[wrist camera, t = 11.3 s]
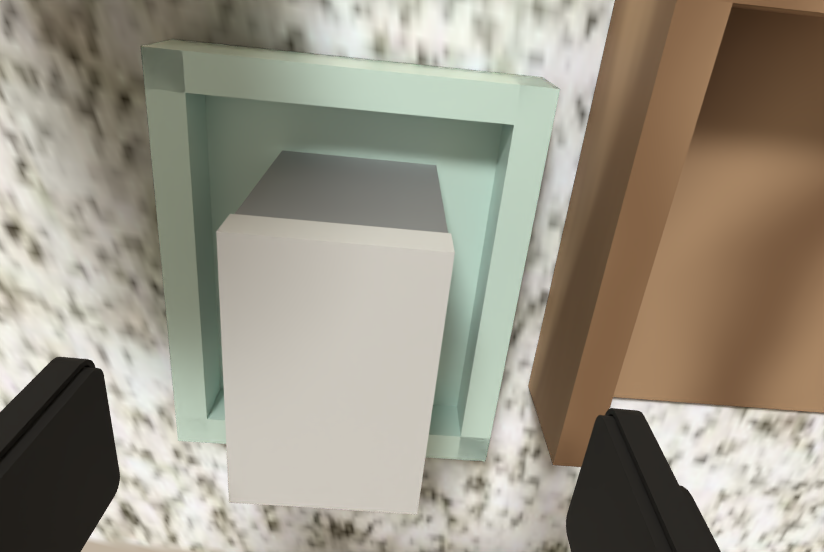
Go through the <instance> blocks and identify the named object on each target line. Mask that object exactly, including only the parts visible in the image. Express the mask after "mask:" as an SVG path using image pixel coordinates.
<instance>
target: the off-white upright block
mask: <svg viewBox="0 0 824 552" xmlns="http://www.w3.org/2000/svg"><path fill="white" fill-rule="evenodd" d="M216 237H217V258H218V279H219V300H220V321H221V342H222V364H223V385H224V406H225V427H226V448H227V469H228V490H229V503H245V504H261V505H276V506H292V507H308V508H324V509H340V510H355V511H371V512H387V513H403V514H417V512H418V506H419V499H420V492H421V485H422V478H423V471H424V464H425V457H426V450H427V443H428V436H429V429H430V422H431V415H432V408H433V401H434V394H435V387H436V380H437V373H438V366H439V359H440V352H441V346H442V339H443V332H444V325H445V318H446V311H447V304H448V297H449V290H450V283H451V276H452V269H453V262H454V255H455V251H454V245H453V240H452V235H451V233H448V229H447V224H446V218H445V213H444V207H443V201H442V196H441V190H440V184H439V179H438V173H437V168H436V165H429V164H419V163H409V162H398V161H388V160H377V159H367V158H356V157H346V156H335V155H325V154H314V153H304V152H293V151H283V150H282V151H281V153H280V154H279V155H278V157H277V158H276V159H275V161H274V162H273V163H272V165H271V166H270V167H269V169H268V170H267V171H266V173H265V174H264V175H263V176H262V178H261V179H260V180H259V182H258V183H257V184H256V186H255V187H254V188H253V190H252V191H251V192H250V194H249V195H248V196H247V198H246V199H245V200H244V202H243V203H242V204H241V206H240V207H239V208H238V210H237V211H236V212H235V214H229V216H228V217H227V218H226V220H225V221H224V222H223V224H222V225H221V226H220V227H219V229H218V230H217V231H216Z"/></svg>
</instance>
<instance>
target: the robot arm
mask: <svg viewBox="0 0 824 552" xmlns="http://www.w3.org/2000/svg"><path fill="white" fill-rule="evenodd" d="M119 481H120V473H119V466H118V460H117V454H116V448H115V442H114V436H113V429H112V423H111V417H110V411H109V405H108V399H107V392H106V386H105V380H104V375H103V371H102V370H101V369H99V368H95V365H94V363H93V362H92V361H91V360H89V359H78V358H68V357H57V358H55V359H53V360H52V361H51V362H50V363H49V364H48V365H47V366H46V367H45V368H44V369H43V370H42V371H41V372H40V373H39V374H38V375H37V376H36V377H35V378H34V379H33V380H32V381H31V382H30V383H29V384H28V385H27V386H26V387H25V388H24V389H23V390H22V391H21V392H20V393H19V394H18V395H17V396H16V397H15V398H14V399H13V400H12V401H11V402H10V403H9V404H8V405H7V406H6V407H5V408H4V409H3V410H2V411H1V412H0V552H81V550H82V548H83V547H84V545H85V543H86V542H87V540H88V539H89V537H90V535H91V534H92V532H93V530H94V529H95V527H96V525H97V524H98V522H99V520H100V519H101V517H102V516H103V514H104V512H105V511H106V509H107V507H108V506H109V504H110V502H111V501H112V499H113V498H114V496H115V494H116V492H117V489H118V486H119ZM566 530H567V536H568V540H569V544H570V548H571V552H721V551H720V549H719V547H718V545H717V543H716V542H715V540H714V538H713V536H712V534H711V532H710V530H709V528H708V526H707V524H706V522H705V520H704V518H703V516H702V515H701V513H700V511H699V509H698V507H697V505H696V503H695V501H694V499H693V497H692V496H691V494H690V493H689V491H688V490H687V489H686V488H684V487H683V486H679V484H678V482H677V480H676V478H675V476H674V474H673V472H672V470H671V468H670V466H669V464H668V462H667V460H666V458H665V456H664V454H663V452H662V450H661V448H660V446H659V444H658V442H657V440H656V438H655V436H654V434H653V432H652V431H651V429H650V427H649V425H648V423H647V421H646V419H645V417H644V415H643V414H642V412H640V411H635V410H624V409H614V408H610V409H608V410H607V412H606V414H605V415H598V416H597V418H596V420H595V423H594V426H593V430H592V433H591V436H590V440H589V443H588V446H587V450H586V453H585V456H584V460H583V463H582V466H581V470H580V473H579V476H578V480H577V483H576V486H575V490H574V493H573V496H572V500H571V503H570V506H569V510H568V513H567V519H566Z"/></svg>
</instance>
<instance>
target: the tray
mask: <svg viewBox="0 0 824 552" xmlns="http://www.w3.org/2000/svg"><path fill="white" fill-rule="evenodd" d="M141 55H142V65H143V76H144V86H145V97H146V108H147V118H148V129H149V139H150V150H151V160H152V171H153V181H154V192H155V202H156V213H157V223H158V234H159V244H160V255H161V265H162V276H163V286H164V297H165V307H166V318H167V328H168V339H169V349H170V360H171V370H172V381H173V391H174V402H175V412H176V423H177V433H178V441H190V442H205V443H220V444H226V427H225V406H224V385H223V364H222V342H221V321H220V300H219V279H218V258H217V237H216V231H217V230H218V229H219V227H220V226H221V225H222V224H223V222H224V221H225V220H226V218H227V217H228V216H229V214H235V212H236V211H237V210H238V208H239V207H240V206H241V204H242V203H243V202H244V200H245V199H246V198H247V196H248V195H249V194H250V192H251V191H252V190H253V188H254V187H255V186H256V184H257V183H258V182H259V180H260V179H261V178H262V176H263V175H264V174H265V173H266V171H267V170H268V169H269V167H270V166H271V165H272V163H273V162H274V161H275V159H276V158H277V157H278V155H279V154H280V153H281V151H282V150H283V151H293V152H304V153H314V154H325V155H335V156H346V157H356V158H367V159H377V160H388V161H398V162H409V163H419V164H429V165H436V168H437V173H438V179H439V184H440V190H441V196H442V201H443V207H444V213H445V218H446V224H447V229H448V233H451V235H452V240H453V245H454V251H455V255H454V262H453V269H452V276H451V283H450V290H449V297H448V304H447V311H446V318H445V325H444V332H443V339H442V346H441V352H440V359H439V366H438V373H437V380H436V387H435V394H434V401H433V408H432V415H431V422H430V429H429V436H428V443H427V450H426V457H428V458H443V459H458V460H472V461H486V457H487V452H488V447H489V442H490V437H491V432H492V427H493V422H494V417H495V412H496V407H497V402H498V397H499V392H500V387H501V382H502V377H503V372H504V367H505V362H506V357H507V352H508V347H509V342H510V337H511V332H512V327H513V322H514V317H515V312H516V307H517V302H518V297H519V292H520V287H521V282H522V277H523V272H524V267H525V262H526V257H527V252H528V247H529V242H530V237H531V232H532V227H533V222H534V217H535V212H536V207H537V202H538V197H539V192H540V187H541V182H542V177H543V172H544V167H545V162H546V157H547V152H548V147H549V142H550V137H551V132H552V127H553V122H554V117H555V112H556V107H557V102H558V97H559V92H560V89H559V88H558V87H556V86H555V85H553V84H552V83H550V82H549V81H547V80H545V79H544V78H542V77H535V76H525V75H516V74H506V73H496V72H486V71H477V70H467V69H457V68H448V67H438V66H428V65H418V64H409V63H399V62H389V61H379V60H370V59H360V58H350V57H340V56H331V55H321V54H311V53H301V52H292V51H282V50H272V49H262V48H253V47H243V46H233V45H223V44H214V43H204V42H194V41H185V40H175V39H171V40H167V41H162V42H158V43H153V44H149V45H144V46H141Z"/></svg>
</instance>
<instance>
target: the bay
mask: <svg viewBox="0 0 824 552" xmlns="http://www.w3.org/2000/svg"><path fill="white" fill-rule="evenodd" d="M528 386H529V389H530V393H531V396H532V399H533V402H534V406H535V409H536V412H537V415H538V418H539V422H540V425H541V428H542V431H543V434H544V438H545V441H546V444H547V447H548V450H549V454H550V457H551V460H552V463H553V465H560V466H575V467H581V466H582V463H583V460H584V456H585V453H586V450H587V446H588V443H589V440H590V436H591V433H592V430H593V426H594V423H595V420H596V418H597V416H598V415H605V414H606V412H607V410H608V409H609V408H610V405H611V402H612V399H613V397H620V398H633V399H647V400H660V401H674V402H687V403H701V404H714V405H728V406H741V407H755V408H768V409H782V410H795V411H809V412H822V413H824V0H615V3H614V8H613V12H612V17H611V21H610V26H609V30H608V34H607V39H606V43H605V48H604V52H603V57H602V61H601V66H600V70H599V74H598V79H597V83H596V88H595V92H594V97H593V101H592V105H591V110H590V114H589V119H588V123H587V128H586V132H585V137H584V141H583V145H582V150H581V154H580V159H579V163H578V168H577V172H576V177H575V181H574V185H573V190H572V194H571V199H570V203H569V208H568V212H567V217H566V221H565V225H564V230H563V234H562V239H561V243H560V248H559V252H558V256H557V261H556V265H555V270H554V274H553V279H552V283H551V288H550V292H549V296H548V301H547V305H546V310H545V314H544V319H543V323H542V328H541V332H540V336H539V341H538V345H537V350H536V354H535V359H534V363H533V368H532V372H531V376H530V381H529V385H528Z"/></svg>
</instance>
